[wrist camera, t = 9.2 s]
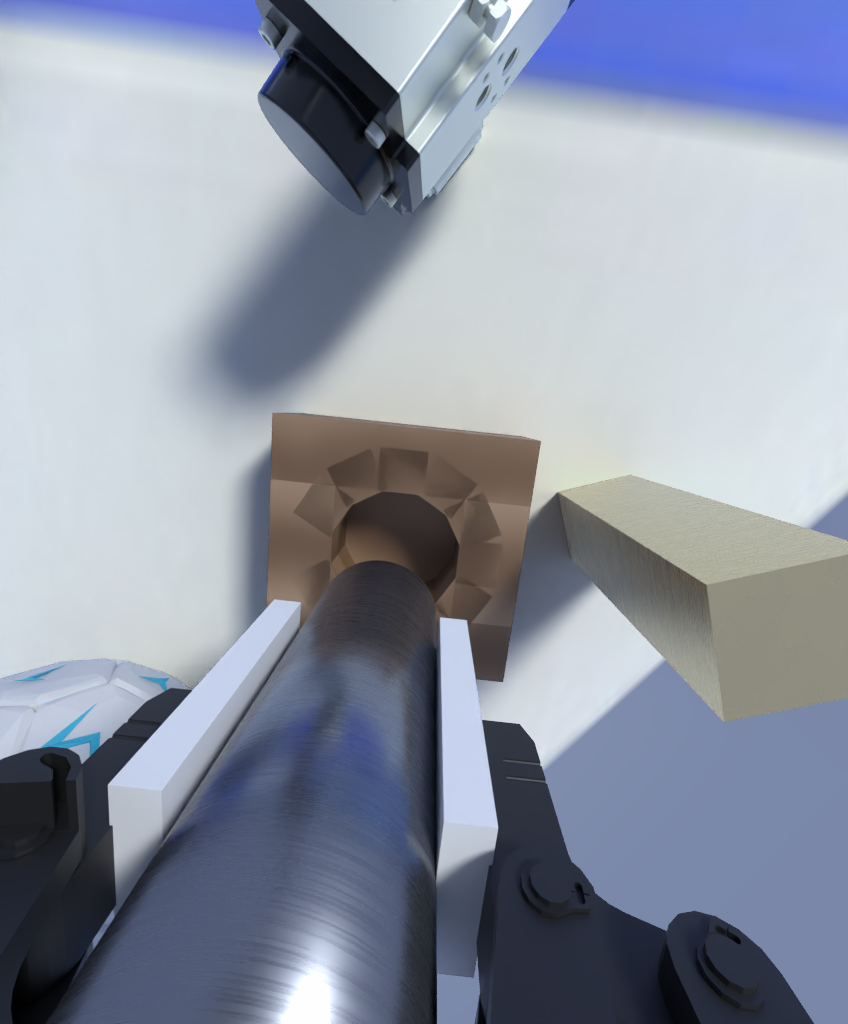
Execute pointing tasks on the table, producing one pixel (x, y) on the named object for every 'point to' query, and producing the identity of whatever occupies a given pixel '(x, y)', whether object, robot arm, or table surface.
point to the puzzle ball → (75, 707)
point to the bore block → (403, 516)
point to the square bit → (719, 592)
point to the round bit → (299, 842)
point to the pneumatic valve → (392, 86)
